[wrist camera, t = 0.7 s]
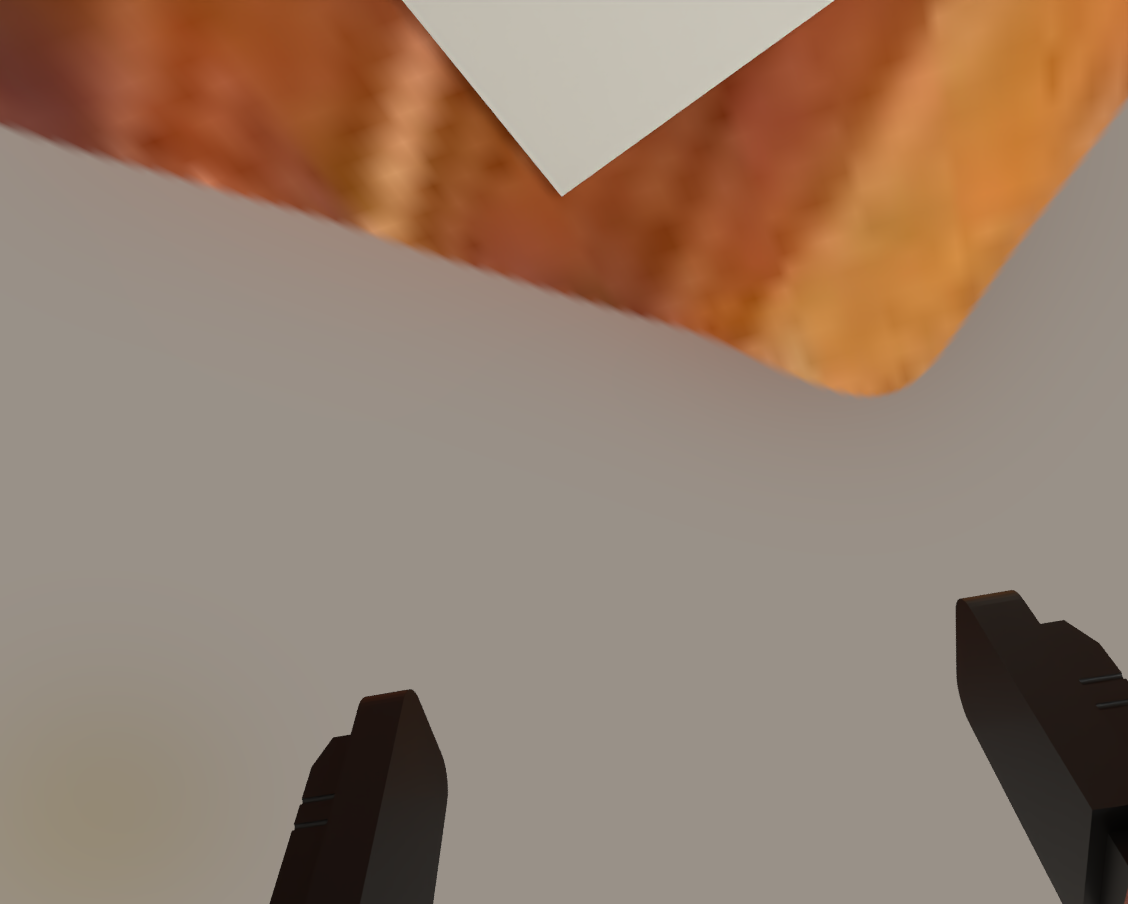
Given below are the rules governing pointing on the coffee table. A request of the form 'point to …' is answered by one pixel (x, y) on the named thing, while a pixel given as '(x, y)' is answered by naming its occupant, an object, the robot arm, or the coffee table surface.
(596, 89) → the dial plate
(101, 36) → the coffee table surface
